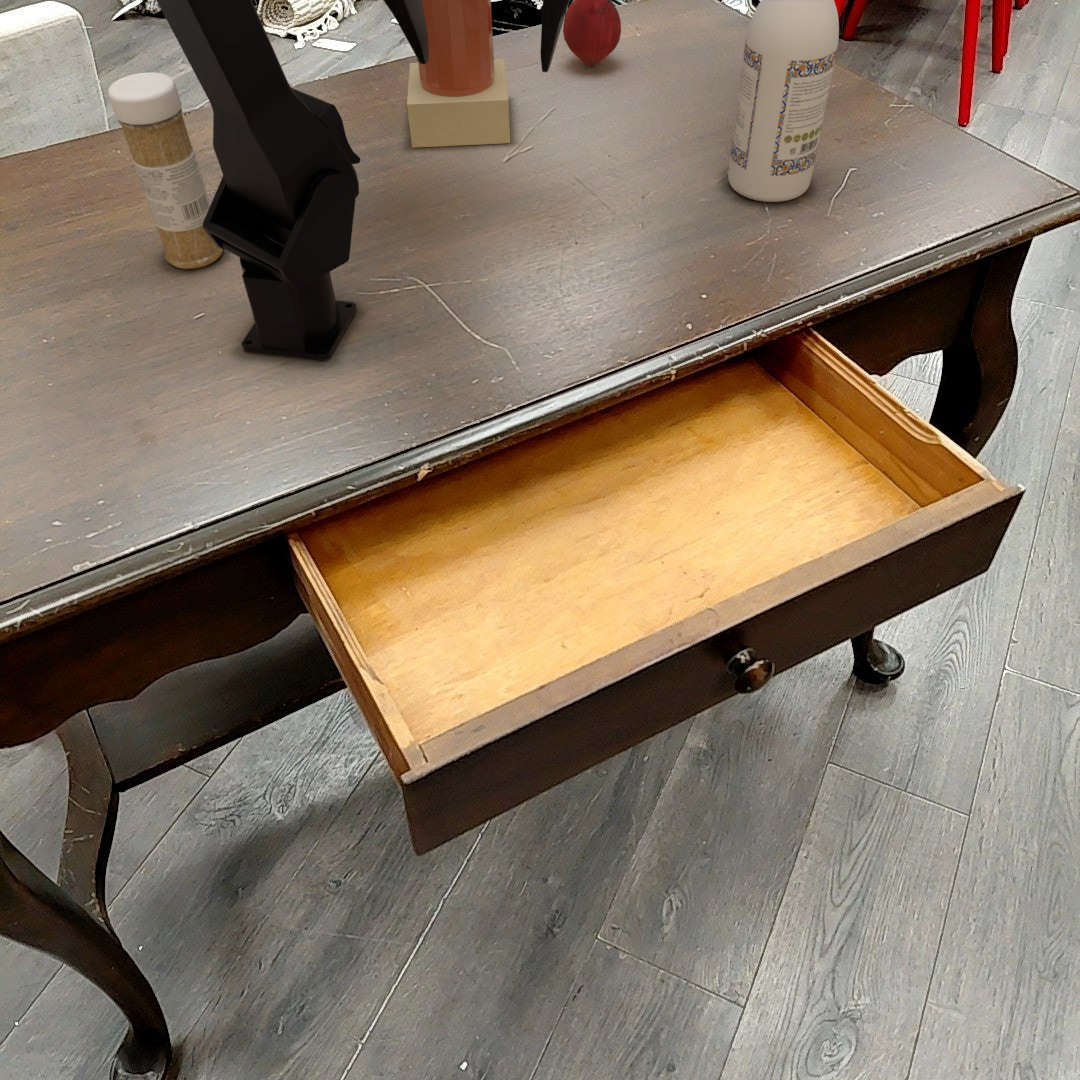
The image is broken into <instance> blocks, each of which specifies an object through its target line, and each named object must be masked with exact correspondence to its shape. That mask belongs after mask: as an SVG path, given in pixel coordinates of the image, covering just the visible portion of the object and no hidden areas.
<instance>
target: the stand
mask: <svg viewBox="0 0 1080 1080" xmlns="http://www.w3.org/2000/svg"><path fill="white" fill-rule="evenodd" d="M407 83H408V85H407V99H406V108H407V116H408V117H407V118H408V125H409V134H410V141H411V148H412V149H415V148H417V149H418V148H435V147H437V148H438V147H455V146H480V145H481V146H482V145H501V144H502V145H503V144H510V143H511V131H510V130H511V129H510V107H509V106H510V105H509V104H510V103H509V92H508V79H507V69H506V59H505V58H494V82H493V84H492V85H491V86H490V87H489V88H487V89H486V90H484V91H482V92H479V93H476V94H472V95H467V96H458V97H450V96H440V95H436V94H432V93H430V92H427V91H426V90H424V89H423V88H422V87H421V85H420V78H419V72H418V63H417V62H410V63H409V72H408V82H407Z"/></svg>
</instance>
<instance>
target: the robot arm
mask: <svg viewBox="0 0 1080 1080" xmlns="http://www.w3.org/2000/svg"><path fill="white" fill-rule="evenodd" d="M570 1H571V0H542V10H541V34H540V52H539V55H540V62H541V63H540V64H541V72H542V73H548V72H549V70H550V68H551V65H552V61H553V59H554V58H553V57H554V54H555V51H556V47H557V45H558V40H559V37H560V33H561V30H562V27H563V24H564V19H565V15H566V12H567V10H568V8H569V4H570ZM156 2H157V4H158V6H159V8H160V10H161V12H162V14H163V16H164V17H165V20H166V22H167V23H168V25H169V27H170V29H171V31H172V33H173V35H174V37H175V38H176V41H177V42H178V44H179V46H180V48H181V50H182V52H183V53H184V56H185V57H186V59H187V61H188V63H189V66H190V67H191V69H192V71H193V73H194V74H195V76H196V78H197V80H198V83H199V84H200V86H201V88H202V90H203V91H204V93H205V95H206V97H207V99H208V101H209V103H210V106H211V109H212V113H213V114H212V115H213V117H212V118H213V119H212V120H213V121H212V123H213V124H212V147H213V150H214V153H215V156H216V159H217V162H218V164H219V167H220V171H221V173H222V177H221V179H220V182H219V184H218V187H217V188H216V191H215V193H214V196H213V198H212V201H211V203H210V208H209V210H208V212H207V215H206V217H205V219H204V222H203V228H204V230H205V231H206V233H207V234H208V235H209V237H210V238H211V239H212V241H213V242H214V243H215V245H216V246H217V247H219V248H221V249H223V250H225V251H228V252H229V253H231V254H233V255H235V256H236V257H238V258H239V264H240V267H241V272H242V275H241V277H242V281H243V285H244V288H245V292H246V295H247V299H248V301H249V305H250V310H251V312H252V317H253V320H254V323H253V325H252V326H251V327H250V330H249V331H248V332H247V334H246V335H245V337H244V338H243V340H242V341H241V346H242V350H243V351H244V352H247V353H256V354H264V355H273V356H282V357H291V358H298V359H299V358H300V359H308V360H317V361H326V360H328V359H330V358H331V356H332V354H333V353H334V352H335V349H336V348H337V346H338V344H339V342H340V340H341V339H342V337H343V335H344V333H346V330H347V328H348V326H349V324H351V321H352V319H353V318H354V315H356V312H357V306H356V303H354V302H353V301H345V300H337V299H336V294H335V290H334V285H333V281H332V275H331V272H333V271H334V270H336V269H337V268H339V267H341V266H343V265H345V264H346V263H348V262H349V260H350V255H351V254H350V253H351V247H352V246H351V245H352V237H353V236H352V235H353V227H354V218H355V208H356V198H358V196H359V195H360V182H359V179H358V174H357V170H356V169H355V166H354V165H357V164H360V163H361V159H362V158H361V157H360V156H359V155H358V154H357V153H356V152H355V151H354V150H353V148H352V147H351V144H350V143H349V140H348V138H347V134H346V130H345V127H344V121H343V118H342V116H341V115H340V112H339V111H338V109H337V107H336V105H334V104H333V103H331V102H328V101H325V100H323V99H321V98H318V97H316V96H313V95H311V94H308V93H305V92H303V91H301V90H298V89H296V88H294V87H292V86H291V85H290V83H289V81H288V79H287V77H286V74H285V72H284V70H283V67H282V66H281V63H280V61H279V59H278V56H277V54H276V52H275V49H274V47H273V44H272V42H271V40H270V38H269V36H268V34H267V32H266V29H265V27H264V24H263V22H262V20H261V18H260V16H259V13H258V11H257V9H256V7H255V4H254V2H253V0H156ZM383 2H384V3H385V5H386V7H387V8H388V9H389V11H390V12H391V14H392V15H393V17H394V18H395V20H396V22H397V23H398V26H399V28H400V30H401V31H402V33H403V35H404V36H405V38H406V40H407V42H408V44H409V46H410V48H411V49H412V51H413V53H414V55H415V56H416V59H417V58H418V60H419V62H420V63H421V64H426V63H427V62H428V60H429V45H428V33H427V27H426V21H425V15H424V9H423V3H422V0H383Z"/></svg>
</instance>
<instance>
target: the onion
mask: <svg viewBox="0 0 1080 1080" xmlns="http://www.w3.org/2000/svg"><path fill="white" fill-rule="evenodd" d="M562 27H563V28H562V33H563V40H564V42H565V43H566V45H567V47H568V49H569V50H570V51H571V52H572V54H573V55H575V56H576V57H577V58H578V59H579V60H580V61H581V62H582V64H584V65H585V66H587V67H589V68H590V67H594V66H596V65H598V64H599V63H600V62H601V61H604V60H605V59H606V58H607V57H608V56H610V54H611V53H612V52H613V51H614V50H615V49H616V48H617V46H618V44H619V42H620V40H621V34H622V22H621V18H620V14H619V11H618V9H617V7H616V6H615V4H614V3H613V1H612V0H573V1H572V2H571V3H570V5H568V7H567V10H566V13H565V17H564V20H563V24H562Z"/></svg>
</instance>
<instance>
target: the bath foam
mask: <svg viewBox="0 0 1080 1080" xmlns="http://www.w3.org/2000/svg"><path fill="white" fill-rule="evenodd" d="M839 37H840V22H839V13H838V9H837V6H836V2H835V0H760V1H759V3H758V4H757V7H756V8H755V10H754V12H753V14H752V17H751V19H750V22H749V25H748V29H747V33H746V37H745V42H744V50H743V57H742V64H741V65H742V66H741V72H740V81H739V86H738V87H739V88H738V96H737V103H736V110H735V118H734V125H733V134H732V141H731V148H730V157H729V165H728V173H727V179H728V184H729V186H731V188H732V189H733V190H734V192H736V193H738V194H739V195H741V196H742V197H745V198H748V199H751V200H754V201H760V202H764V203H765V202H766V203H781V202H787V201H790V200H794V199H797V198H798V197H800V196H802V195H803V194H804V193H806V192H807V190H808V189H809V187H810V185H811V182H812V176H813V172H814V166H815V161H816V158H817V152H818V148H819V142H820V137H821V132H822V127H823V122H824V118H825V113H826V108H827V102H828V97H829V92H830V88H831V83H832V77H833V74H834V73H833V72H834V68H835V62H836V57H837V52H838V48H839V39H840V38H839Z"/></svg>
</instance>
